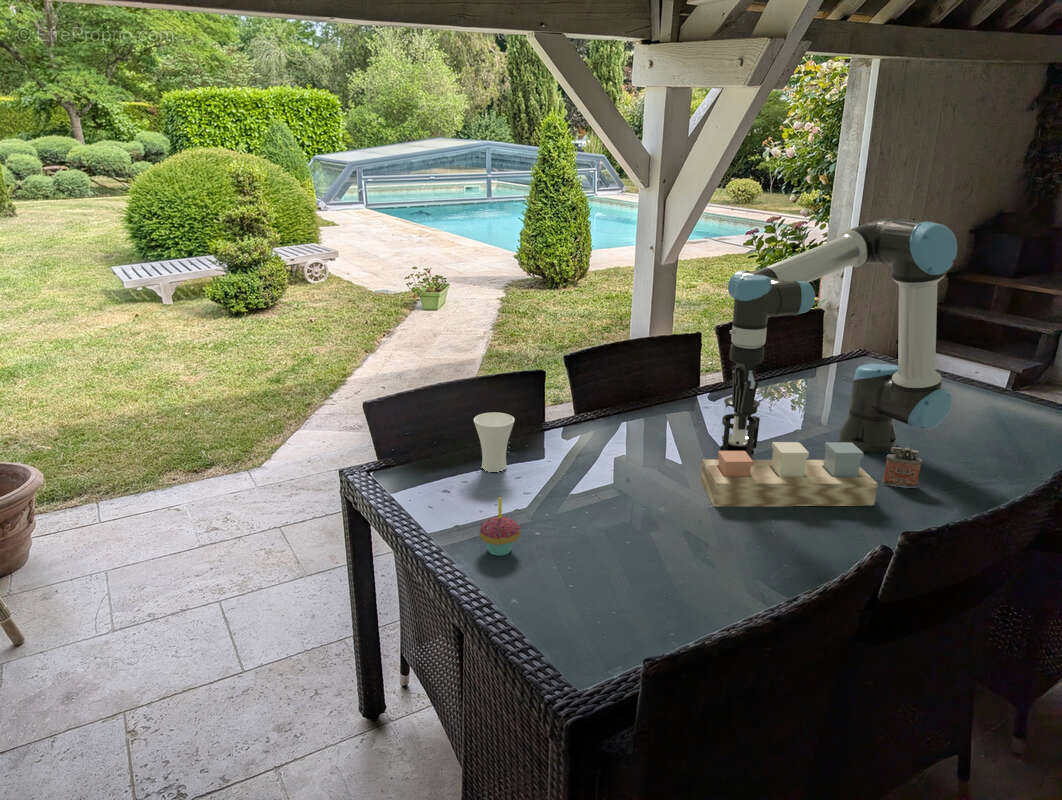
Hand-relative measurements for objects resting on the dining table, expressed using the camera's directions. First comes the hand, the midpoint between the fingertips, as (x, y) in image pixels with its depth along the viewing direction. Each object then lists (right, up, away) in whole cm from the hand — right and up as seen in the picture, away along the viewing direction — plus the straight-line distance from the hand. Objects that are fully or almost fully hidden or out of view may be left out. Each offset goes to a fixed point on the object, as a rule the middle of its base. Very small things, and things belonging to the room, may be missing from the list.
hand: (738, 440), depth 183 cm
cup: (-59, -8, +17) cm, 62 cm away
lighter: (+43, -12, +10) cm, 46 cm away
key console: (+12, -13, +5) cm, 19 cm away
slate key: (+25, -8, +3) cm, 27 cm away
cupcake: (-56, -22, -23) cm, 64 cm away
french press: (+6, -7, +24) cm, 25 cm away
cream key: (+12, -8, +3) cm, 15 cm away
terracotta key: (-1, -10, +3) cm, 10 cm away
